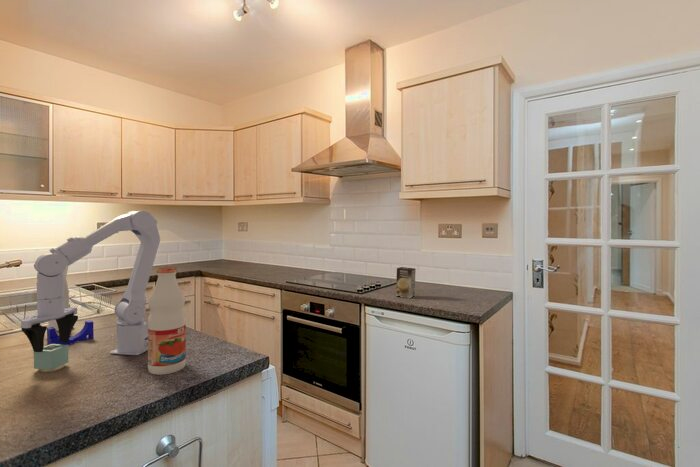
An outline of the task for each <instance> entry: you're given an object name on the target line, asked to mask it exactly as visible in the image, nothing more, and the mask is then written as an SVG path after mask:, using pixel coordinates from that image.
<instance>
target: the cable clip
mask: <svg viewBox="0 0 700 467" xmlns="http://www.w3.org/2000/svg"><path fill="white" fill-rule="evenodd" d="M83 325H84V326H83V327H82V329H81V330H80V331H79V332H78V333H76V334H74V335H72V336H71V335H70V338H69V342H67V343H66V342H60V339H59V333H58V332H56V329H55V328H54V327H49V326H47V329H46V346H47V345H50V344H62V345H68V346H69V345H74V344H75V343H79V342H82V341H87V340H91V339H94V338H95V337H94V334H95V333H94V321H93V320H91V319H89V320H84V324H83Z"/></svg>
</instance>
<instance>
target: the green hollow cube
mask: <svg viewBox="0 0 700 467" xmlns="http://www.w3.org/2000/svg"><path fill="white" fill-rule="evenodd" d="M49 346H55V347H56V348H55V349H53V350H47V348H48V347H49ZM68 363H69V345H62V344H50V345H47V344H46V345H44V348H43V351H42V352H34V351H33V369H37V370H38V369H46V370H52V369H54V368H57V367H59V366H61V365H64V364H65V365H66V364H68Z"/></svg>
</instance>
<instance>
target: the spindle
mask: <svg viewBox="0 0 700 467" xmlns="http://www.w3.org/2000/svg"><path fill="white" fill-rule="evenodd" d="M55 348H56V347H55V346H49V347H48V348H47V350H53V349H55ZM65 365H66V364H64V365H61V366H59V367H57V368H54V369H52V370H46V369H37V370H38V372H39V373H51V372H55V371H56V372H57V371H59V370H62V369H63V368H64V367H66V366H65Z"/></svg>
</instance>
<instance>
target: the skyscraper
mask: <svg viewBox="0 0 700 467" xmlns="http://www.w3.org/2000/svg"><path fill="white" fill-rule="evenodd" d="M68 270H69V266H68V265H67V266H66V268H65V270H64V271H63V281H64V309H65V308H70V307H71V304H70V295H69V294H70V293H69V292H70V291H69V285H68V281H67V275H68ZM47 323H48V327H54V328H55V329H56V333H59V329H58V325H57V322H56V320H52V321H48V322H47ZM72 330H75V326H73V329H72Z"/></svg>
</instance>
